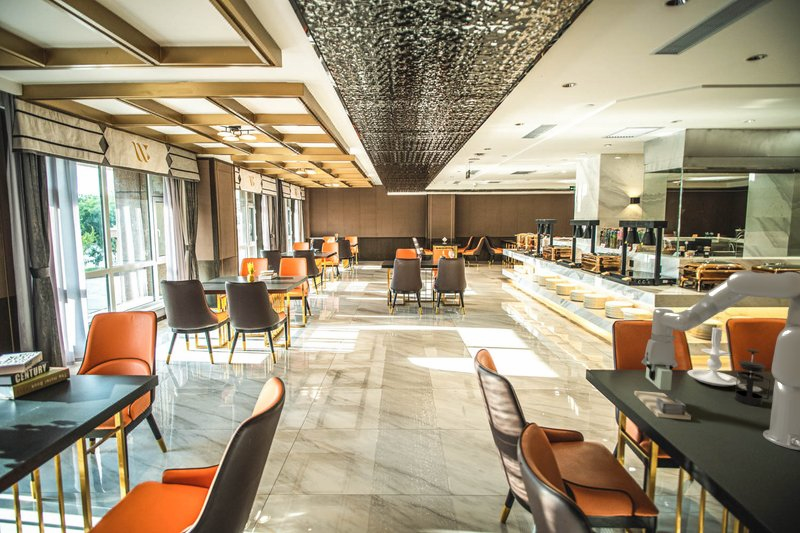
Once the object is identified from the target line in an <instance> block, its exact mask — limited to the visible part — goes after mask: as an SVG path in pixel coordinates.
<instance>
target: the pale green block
mask: <svg viewBox="0 0 800 533" xmlns="http://www.w3.org/2000/svg"><path fill="white" fill-rule="evenodd" d="M647 363H648V364H650V363H649V361H647ZM645 368H646V369H645V370H646V371H645V378H646V380H648V381H649V382H650V383H652V384H653V385H654V386H655V387H657V388H658V389H659V390H662V391H671V390H672V382H673V381H672V379H673V378H672V377H673V371H672V369H671V370H669V369H668V368H667V367H665V366H664V365H656V366H655V369H654V371H655V380H652V379H650V377H649V368H648V367H647V366H645Z"/></svg>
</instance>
